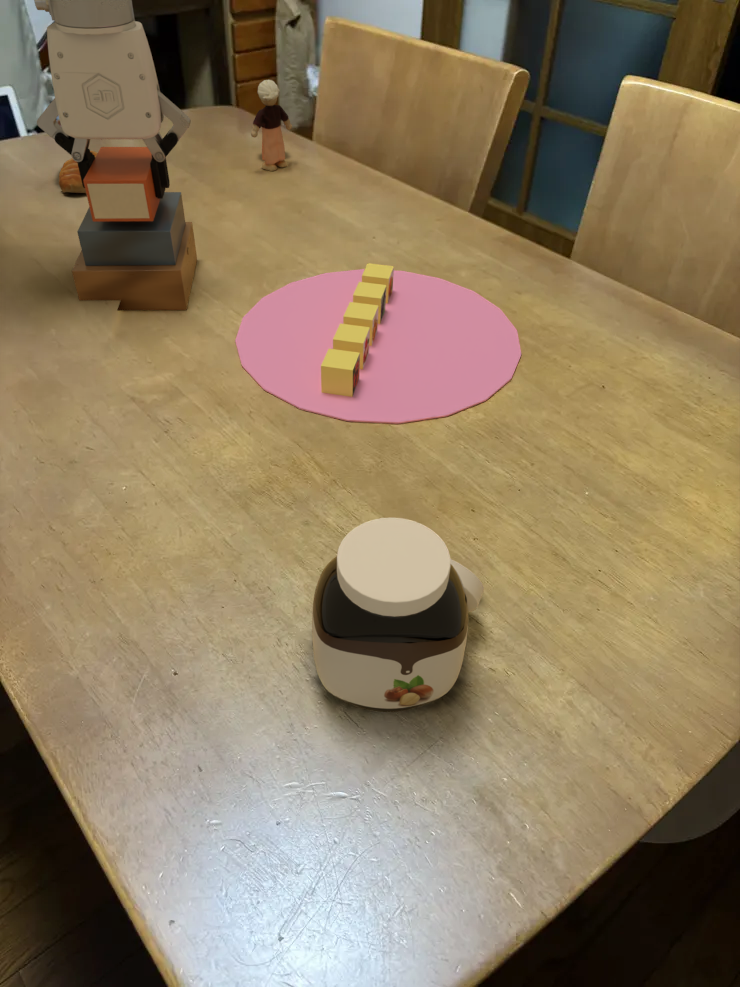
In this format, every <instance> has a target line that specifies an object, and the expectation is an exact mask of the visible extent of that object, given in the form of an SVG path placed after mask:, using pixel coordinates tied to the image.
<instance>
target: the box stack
mask: <svg viewBox="0 0 740 987" xmlns="http://www.w3.org/2000/svg"><path fill="white" fill-rule="evenodd" d="M182 195H183V194H182V192H181V191H165V193H164V196H163V199H160V202H159V205H158V208H157V211H156V214H155V217H154V220H153V221H104V222H93V220H92V216H91V211H90V207H88V209H87V211H86V213H85V215H84V217H83V219H82V220H81V223H80V225H79V227H78V229H77V231H76V232H77V236H78V240H79V241H78V242H79V245H80V252H79V254H78V256H77V258H76V261H75V263H74V264H73V267H72V269H71V274H72V278H73V281H74V286H75V289H76V293H77V297H78V300H79V301H119V304H118V306H117V310H116V311H181V310H182V311H187V310H188V307H189V306H188V305H189V301H190V296H191V291H192V286H193V281H194V276H195V271H196V266H197V261H198V255H197V247H196V239H195V233H194V224H193V221H186V215H185V209H184V202H183V196H182Z"/></svg>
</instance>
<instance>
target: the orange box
mask: <svg viewBox="0 0 740 987" xmlns="http://www.w3.org/2000/svg"><path fill="white" fill-rule="evenodd" d="M97 153H98V154H97V155H96V157H95V159H94V161H93V163H92V165H91V167H90V169H89V170H88V172H87V174H86V176H85V178H84V180H83V181H84V186H85V190H86V193H85V195H86V198H87V203H88V206H89V207H90V211H91V216H92V220H93V222H104V221H153V220H154V217H155V214H156V211H157V208H158V205H159V202H160V199H158V198H157V197H156V195H155V189H154V183H153V178H152V172H151V167H150V162H151V160H152V154H151V152H150V151H149V149H148V147H147V146H100V148H99V150H98V152H97ZM89 207H88V208H89Z"/></svg>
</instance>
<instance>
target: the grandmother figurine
mask: <svg viewBox="0 0 740 987" xmlns="http://www.w3.org/2000/svg"><path fill="white" fill-rule="evenodd" d="M280 92H281V90H280V89H279V86H278V85H277V84H276V82H275V81H274V80H273V79H264V80H263V81H261V82H259V84H258V86H257V94H258V97H259V99H260V101H261V103H262V104H263V105H264V107H263V108H261V109H258V111H257V112H256V115H255V116H254V119H253V121H252V128H251V131H250V136H251V138H257V137H258V134H259V131H260V129H261V134H262V135H261V161H263V163H262V164H261V169H262V170H266V171H270V172H274V171H275V172H276V171H277V170H278V167H279V168H286V167H288V163H287V162H286V161H285V160H286V150H285V149H286V148H285V142H284V138H283V130H282V127H281V124H282V123H281V121H282V122H283V125H285V129H286V130H287V131H291V130H292V129H293V124H291V121H290V118H289V115H288V113H287V112H286V111H285V109H284V108H283V107H282V106H281V105H280V104H276V103H277V101H278V98H279V97H280Z"/></svg>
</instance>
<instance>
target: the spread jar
mask: <svg viewBox="0 0 740 987" xmlns="http://www.w3.org/2000/svg"><path fill="white" fill-rule="evenodd" d="M337 548H338V549H337V554H336V556H334V558H332V559H331V560H330V561H329V562H328V563H327V564H326V566H325V567H324V568H323V569H322V572H320V575H319V578H318V581H317V584H316V586H315V590H314V595H313V600H312V601H313V602H312V607H311V608H312V610H311V635H312V636H311V637H312V650H313V659H314V666H315V668H316V674H317V675H318V678H319V680H320V682H321V684H322V685H323V687H324V688H325V689H326V690H327V692H328V693H329V694H331V695H332V696H334V697H335V698H336V699H338V700H340V701H342V702H344V703H346V704H348V705H351V706H354V707H355V708H359V709H362V710H366V711H370V712H376V713H387V714H388V713H390V714H391V713H401V712H406V711H411V710H414V709H417V708H418V709H419V708H420V707H423V706H425V705H428V704H432V703H433V702H435V701H437V700H438V699H440V698H441V697H443V696H444V695H446V694H447V693H448V692H449V691H450V690H451V689H452V688H453V687H454V685H455V683H456V681H457V680H458V678H459V676H460V673H461V669H462V666H463V662H464V658H465V651H466V646H467V640H468V631H469V613H473V612H474V611H476V610H477V608H478V607H479V604H480V602H481V599H482V597H483V594H484V591H485V587H484V584H483V582H482V581H481V580H480V577H478V576H477V574H475V573H474V572H473V571H471V569H469V568H468V567H466V566H465V565H463V564H461V563H460V562H458V561H456V560H454V559H452V558H451V555H450V551H449V549H448V547H447V544H446V542H445V541H444V540H443V539H442V537H441V536H440V535H439V534H437V532H435V531H434V530H433V529H431V528H429V527H428V526H426V525H424V524H423V523H420V522H418V521H415V520H411V519H408V518H404V517H380V518H375V519H371V520H369V521H365V522H362V523H361V524H359V525H357V526H355V527H354V528H352V529H351V530H350V531H349V532H348V533H347V534H346V535H345V536H344V538H343V539H342V540H341V541H340V544H339V546H338V547H337Z"/></svg>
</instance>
